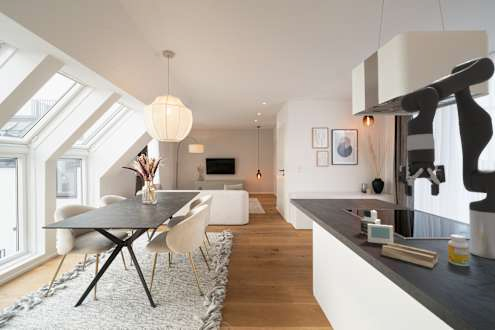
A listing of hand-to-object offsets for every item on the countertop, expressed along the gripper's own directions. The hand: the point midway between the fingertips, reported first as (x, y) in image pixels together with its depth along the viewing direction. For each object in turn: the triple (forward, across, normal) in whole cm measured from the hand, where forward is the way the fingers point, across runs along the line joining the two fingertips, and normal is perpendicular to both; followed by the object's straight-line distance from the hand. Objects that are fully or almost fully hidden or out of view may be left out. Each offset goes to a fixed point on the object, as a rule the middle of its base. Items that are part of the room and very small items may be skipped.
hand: (421, 195), depth 79 cm
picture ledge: (+25, -1, -9) cm, 27 cm away
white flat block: (+25, 0, -27) cm, 37 cm away
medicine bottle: (+25, -2, -42) cm, 49 cm away
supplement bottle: (+25, -15, -4) cm, 30 cm away
